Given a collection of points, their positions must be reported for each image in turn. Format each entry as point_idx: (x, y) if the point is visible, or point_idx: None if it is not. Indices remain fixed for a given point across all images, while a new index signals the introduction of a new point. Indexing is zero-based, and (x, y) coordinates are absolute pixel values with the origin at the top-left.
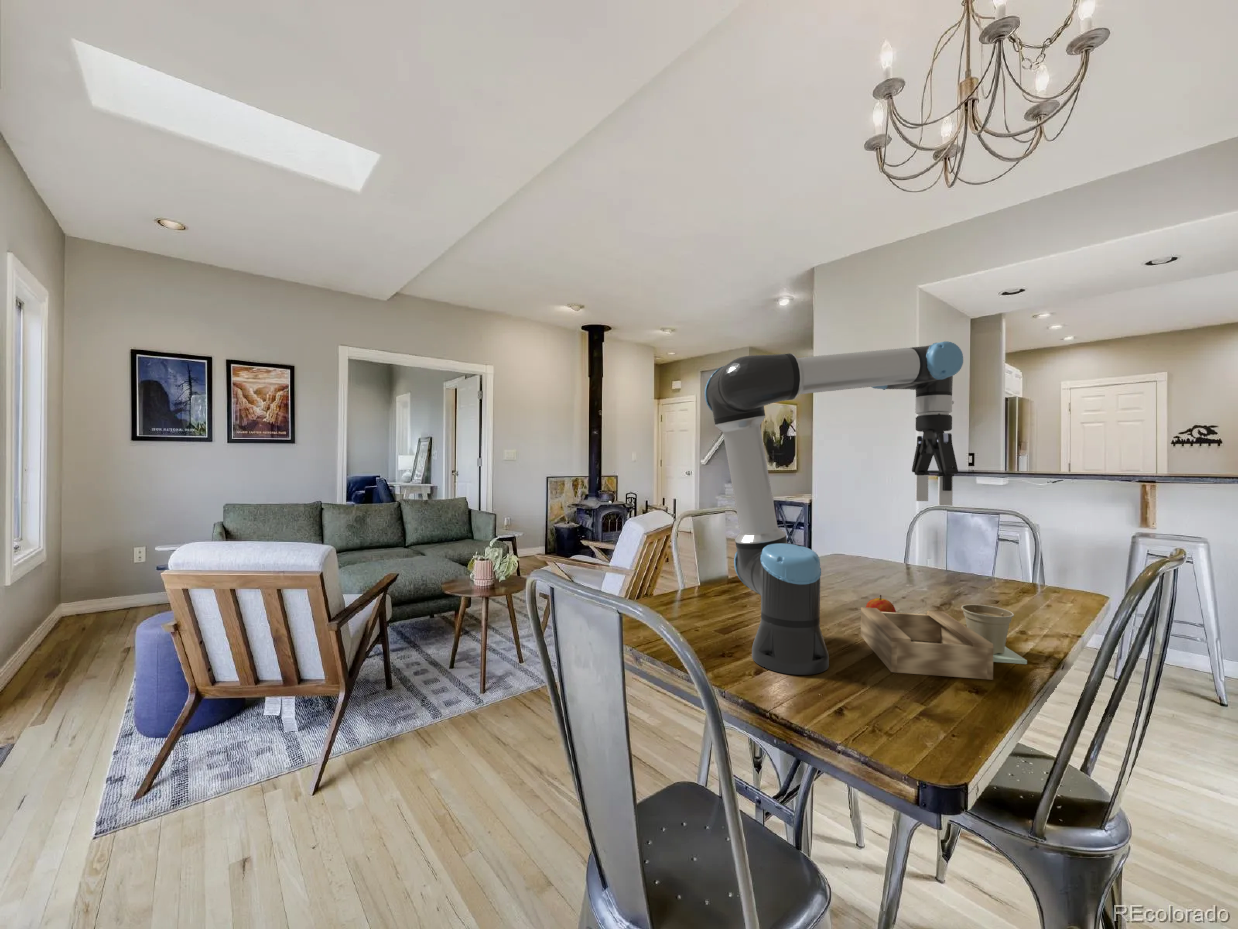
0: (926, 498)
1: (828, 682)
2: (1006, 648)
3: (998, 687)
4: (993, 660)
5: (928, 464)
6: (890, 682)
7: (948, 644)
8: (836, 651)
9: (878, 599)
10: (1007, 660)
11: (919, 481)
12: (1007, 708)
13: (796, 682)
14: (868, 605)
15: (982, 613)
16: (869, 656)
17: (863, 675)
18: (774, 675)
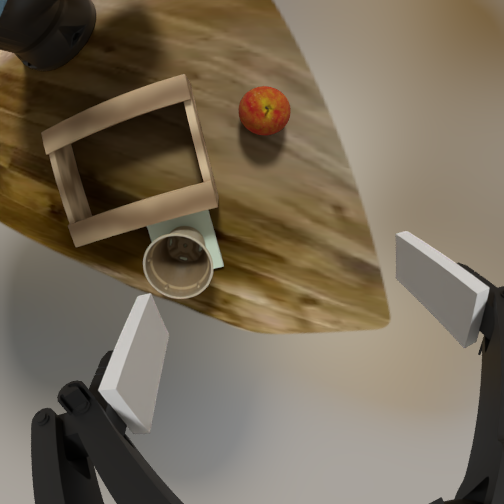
0: (402, 277)
1: (20, 82)
2: None
3: None
4: None
5: (480, 399)
6: (38, 133)
7: (63, 197)
8: (106, 63)
9: (268, 105)
10: None
11: (452, 289)
12: (34, 232)
13: (13, 59)
14: (256, 89)
15: (208, 261)
16: (103, 101)
17: (44, 106)
18: None
